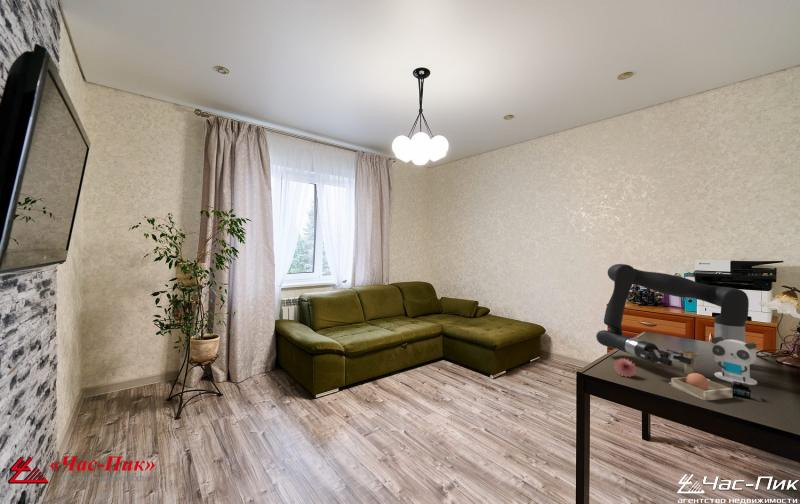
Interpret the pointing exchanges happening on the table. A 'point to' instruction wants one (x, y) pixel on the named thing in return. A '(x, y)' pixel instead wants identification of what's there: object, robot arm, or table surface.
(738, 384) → the black slotted stand
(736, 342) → the panda figurine
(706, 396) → the corral
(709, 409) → the table surface
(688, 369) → the tee
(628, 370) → the flower
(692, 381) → the ball
